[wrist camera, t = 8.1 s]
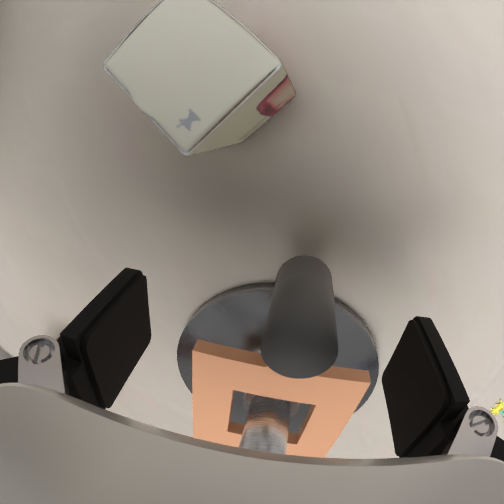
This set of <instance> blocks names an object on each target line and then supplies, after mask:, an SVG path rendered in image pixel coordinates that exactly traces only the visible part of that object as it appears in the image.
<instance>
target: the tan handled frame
mask: <svg viewBox="0 0 504 504" xmlns="http://www.w3.org/2000/svg"><path fill="white" fill-rule="evenodd" d="M260 352H261V353H256V352H251V351H246V350H242V349H237V348H233V347H228V346H224V345H220V344H215V343H211V342H207V341H203V340H199V339H198V340H197V342H196V344H195V346H194V348H193V350H192V392H193V432H194V438H197V439H201V440H205V441H210V442H214V443H219V444H223V445H228V446H233V447H239V444H240V440H241V436H242V433H243V429H244V425H245V424H241V423H236V422H232V421H230V420H231V414H232V407H233V400H234V393H235V390H236V391H240V392H245V393H250V394H254V395H259V396H265V397H270V398H275V399H281V400H287V401H293V402H299V403H306V404H312V405H311V407H310V409H309V411H308V414H307V416H306V418H305V420H304V422H303V424H302V427H301V429H300V431H299V433H298V434H297V433H290V432H288V440H287V447H286V455H295V456H306V457H320V458H324V457H325V456H326V454H327V453H328V451H329V450H330V448H331V447H332V446H333V444H334V443H335V441H336V440H337V438H338V437H339V435H340V434H341V432H342V430H343V429H344V427H345V426H346V424H347V423H348V421H349V419H350V418H351V416H352V414H353V413H354V411H355V409H356V408H357V406H358V404H359V403H360V401H361V399H362V398H363V396H364V394H365V392H366V391H367V389H368V387H369V385H370V383H371V381H370V375H369V371H368V370H359V369H351V368H343V367H336V366H332V365H333V364H334V362H335V361H336V359H337V356H338V338H337V326H336V315H335V305H334V295H333V286H332V277H331V273H330V271H329V269H328V267H327V266H326V265H325V264H324V263H323V262H322V261H320V260H319V259H317V258H314V257H311V256H297V257H294V258H291V259H289V260H288V261H286V262H285V263H284V264H283V265H282V266H281V268H280V269H279V271H278V274H277V278H276V282H275V287H274V291H273V295H272V300H271V304H270V308H269V312H268V317H267V321H266V325H265V329H264V333H263V337H262V342H261V346H260Z"/></svg>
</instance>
